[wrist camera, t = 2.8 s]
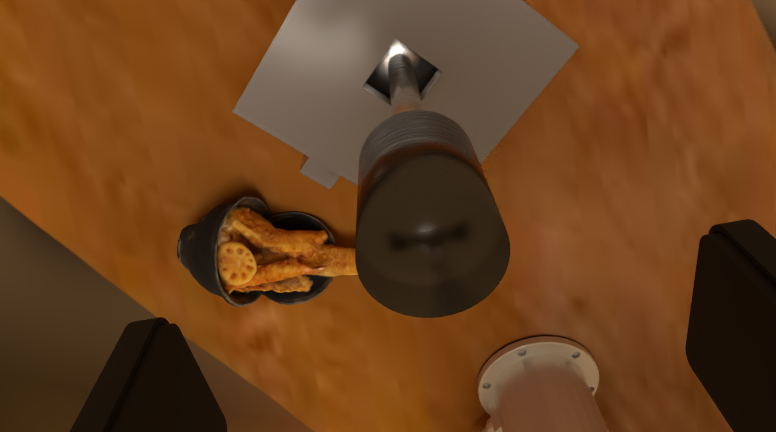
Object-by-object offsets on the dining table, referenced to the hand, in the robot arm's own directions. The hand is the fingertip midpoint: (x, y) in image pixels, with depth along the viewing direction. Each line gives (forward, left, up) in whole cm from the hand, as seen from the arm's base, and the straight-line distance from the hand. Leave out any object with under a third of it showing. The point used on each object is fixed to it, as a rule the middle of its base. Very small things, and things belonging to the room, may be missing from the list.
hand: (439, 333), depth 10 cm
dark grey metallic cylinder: (0, 0, -20) cm, 20 cm away
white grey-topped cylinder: (-2, 0, -34) cm, 34 cm away
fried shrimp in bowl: (-20, -4, -34) cm, 40 cm away
